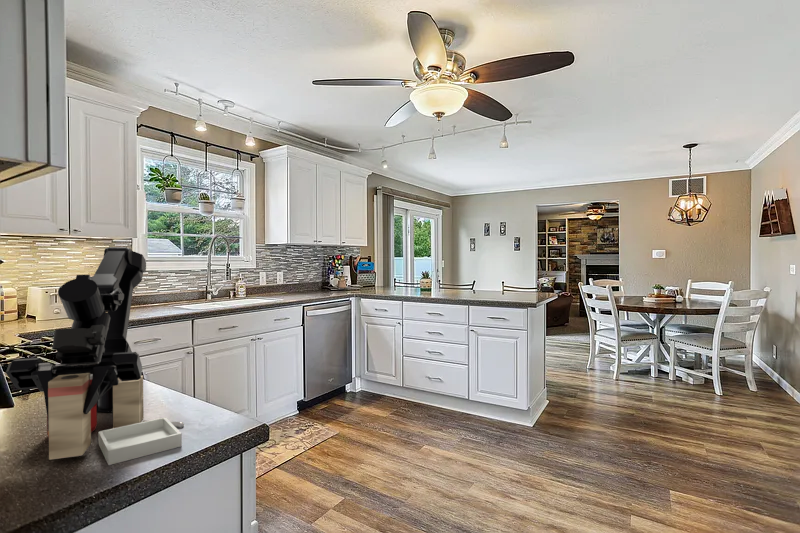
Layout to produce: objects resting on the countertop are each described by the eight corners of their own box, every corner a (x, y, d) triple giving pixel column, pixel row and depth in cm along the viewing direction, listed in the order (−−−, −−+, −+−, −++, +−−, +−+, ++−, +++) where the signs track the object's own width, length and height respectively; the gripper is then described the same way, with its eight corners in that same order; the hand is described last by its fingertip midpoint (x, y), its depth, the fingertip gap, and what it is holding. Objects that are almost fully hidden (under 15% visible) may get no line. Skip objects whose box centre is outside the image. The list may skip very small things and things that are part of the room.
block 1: (59, 448, 74) (58, 374, 74) (91, 444, 76) (90, 372, 76) (48, 459, 70) (47, 381, 70) (82, 455, 72) (81, 379, 72)
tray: (98, 444, 79) (98, 431, 79) (165, 428, 86) (165, 417, 86) (108, 465, 71) (108, 451, 71) (181, 446, 78) (181, 433, 78)
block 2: (118, 420, 91) (118, 377, 91) (143, 417, 93) (143, 375, 93) (113, 428, 87) (112, 382, 87) (139, 425, 88) (138, 380, 88)
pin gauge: (141, 427, 88) (141, 421, 88) (145, 425, 89) (145, 419, 89) (181, 429, 87) (181, 423, 87) (185, 427, 88) (185, 421, 88)
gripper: (10, 311, 73) (-26, 397, 63) (138, 307, 80) (124, 384, 70) (31, 349, 81) (2, 431, 70) (147, 343, 87) (135, 416, 77)
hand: (67, 415), depth 72 cm, fingers closed on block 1, 4 cm apart
